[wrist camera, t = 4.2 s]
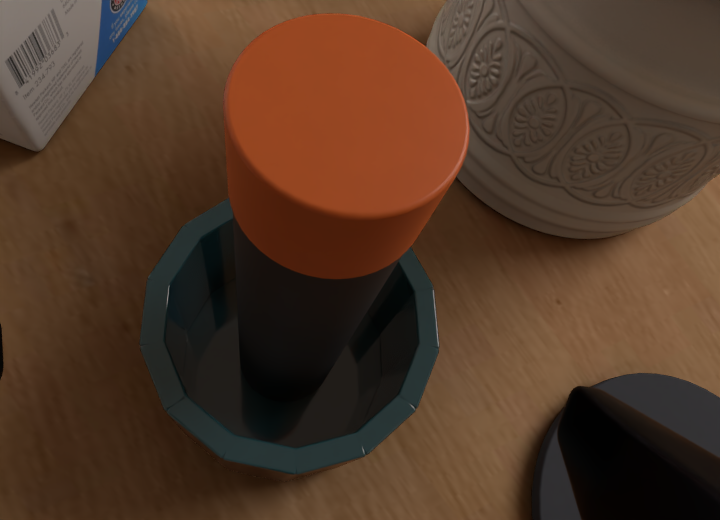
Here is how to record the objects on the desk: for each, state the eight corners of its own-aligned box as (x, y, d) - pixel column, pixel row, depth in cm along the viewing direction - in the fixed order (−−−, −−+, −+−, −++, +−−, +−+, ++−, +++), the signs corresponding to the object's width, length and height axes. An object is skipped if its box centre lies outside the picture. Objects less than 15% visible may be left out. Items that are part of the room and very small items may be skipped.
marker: (321, 413, 18) (457, 247, 6) (226, 391, 18) (187, 178, 6) (340, 322, 20) (482, 48, 8) (252, 301, 19) (260, -16, 8)
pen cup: (376, 502, 18) (420, 501, 13) (130, 450, 17) (88, 431, 13) (411, 284, 21) (456, 224, 17) (204, 233, 20) (192, 156, 16)
